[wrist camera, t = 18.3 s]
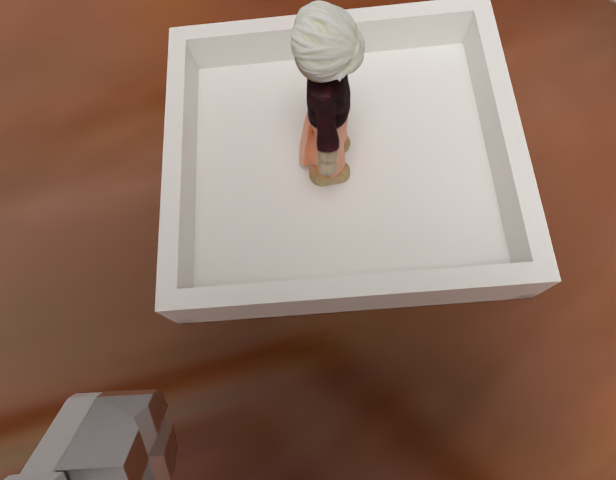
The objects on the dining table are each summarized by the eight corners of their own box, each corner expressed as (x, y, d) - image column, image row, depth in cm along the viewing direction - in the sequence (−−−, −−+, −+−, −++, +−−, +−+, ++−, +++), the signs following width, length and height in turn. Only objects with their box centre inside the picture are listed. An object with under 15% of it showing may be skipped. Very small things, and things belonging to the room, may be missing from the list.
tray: (178, 323, 29) (154, 311, 26) (187, 66, 36) (169, 27, 33) (532, 297, 28) (561, 281, 25) (473, 38, 35) (488, -6, 32)
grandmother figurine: (294, 119, 33) (267, -44, 21) (349, 112, 33) (352, -57, 21) (307, 220, 30) (283, 99, 18) (366, 212, 30) (381, 85, 18)
